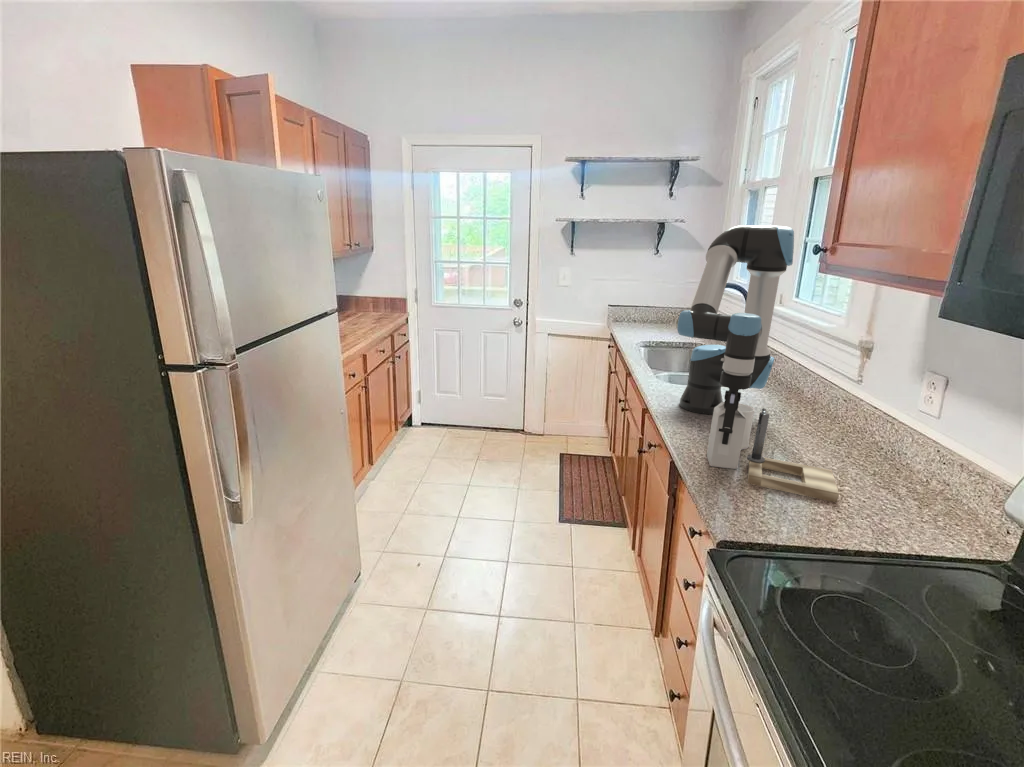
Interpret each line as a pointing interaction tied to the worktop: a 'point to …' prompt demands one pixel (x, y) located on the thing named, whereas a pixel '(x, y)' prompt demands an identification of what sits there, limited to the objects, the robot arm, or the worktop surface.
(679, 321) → the robot arm
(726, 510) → the worktop surface
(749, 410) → the mug
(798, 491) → the tan flat frame
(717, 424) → the milk carton
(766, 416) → the metal door lever handle
